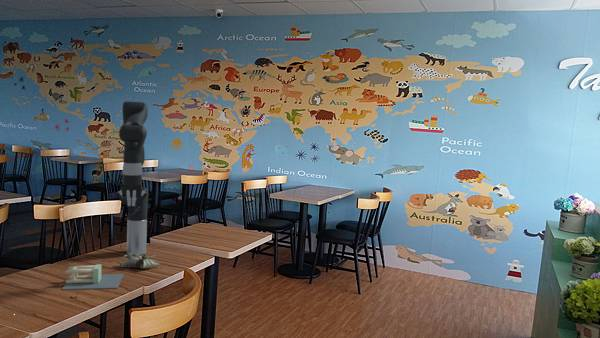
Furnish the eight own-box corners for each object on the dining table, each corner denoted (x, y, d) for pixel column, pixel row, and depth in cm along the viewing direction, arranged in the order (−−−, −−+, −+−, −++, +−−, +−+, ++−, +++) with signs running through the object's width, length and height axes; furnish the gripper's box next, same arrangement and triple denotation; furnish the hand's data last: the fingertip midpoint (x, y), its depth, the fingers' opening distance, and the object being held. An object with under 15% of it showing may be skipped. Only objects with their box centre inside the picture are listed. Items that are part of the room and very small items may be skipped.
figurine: (140, 248, 215) (171, 253, 210) (139, 260, 215) (170, 266, 210) (111, 256, 196) (144, 262, 191) (110, 270, 196) (143, 276, 191)
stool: (101, 278, 185) (69, 279, 182) (101, 264, 184) (69, 265, 181) (98, 283, 179) (65, 284, 176) (98, 268, 178) (65, 269, 176)
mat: (73, 275, 187) (73, 274, 187) (123, 274, 191) (123, 273, 191) (61, 289, 171) (61, 288, 171) (117, 288, 176) (117, 287, 176)
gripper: (150, 173, 190) (149, 212, 192) (116, 172, 187) (116, 212, 189) (148, 175, 183) (147, 216, 185) (113, 174, 180) (113, 216, 182)
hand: (131, 214), depth 187 cm, fingers closed
